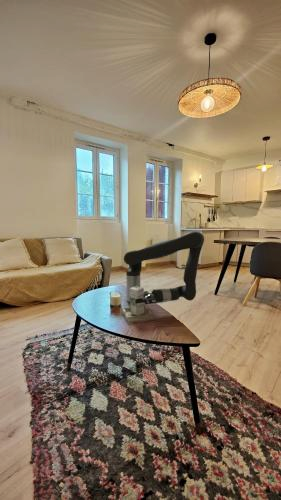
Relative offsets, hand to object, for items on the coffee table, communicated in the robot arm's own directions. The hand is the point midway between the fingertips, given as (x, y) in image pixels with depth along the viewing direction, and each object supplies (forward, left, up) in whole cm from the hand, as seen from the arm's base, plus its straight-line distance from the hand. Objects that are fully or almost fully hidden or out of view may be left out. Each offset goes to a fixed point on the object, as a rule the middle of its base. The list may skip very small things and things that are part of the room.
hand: (133, 298), depth 119 cm
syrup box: (0, +2, -9) cm, 9 cm away
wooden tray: (0, +2, -10) cm, 10 cm away
